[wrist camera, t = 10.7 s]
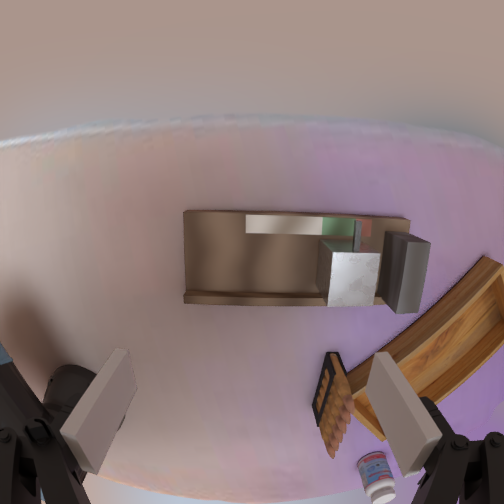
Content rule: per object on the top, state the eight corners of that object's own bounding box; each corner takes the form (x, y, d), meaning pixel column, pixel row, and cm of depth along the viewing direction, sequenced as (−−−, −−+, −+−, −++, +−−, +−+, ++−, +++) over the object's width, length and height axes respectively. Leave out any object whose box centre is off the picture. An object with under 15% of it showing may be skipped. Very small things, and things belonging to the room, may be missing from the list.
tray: (373, 422, 45) (382, 444, 39) (332, 380, 42) (340, 404, 36) (500, 315, 40) (518, 328, 34) (480, 253, 37) (503, 264, 31)
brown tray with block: (190, 297, 38) (175, 326, 30) (187, 210, 35) (169, 220, 27) (392, 297, 38) (418, 324, 30) (403, 217, 35) (436, 229, 27)
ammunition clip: (326, 351, 40) (347, 408, 28) (338, 351, 40) (363, 407, 28) (311, 405, 43) (324, 462, 31) (322, 405, 43) (337, 461, 31)
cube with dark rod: (315, 285, 35) (327, 306, 29) (321, 212, 33) (335, 220, 27) (355, 285, 35) (372, 305, 29) (362, 214, 33) (383, 223, 27)
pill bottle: (387, 448, 47) (403, 488, 36) (380, 464, 48) (394, 502, 37) (360, 454, 47) (373, 496, 36) (354, 469, 48) (365, 509, 37)
